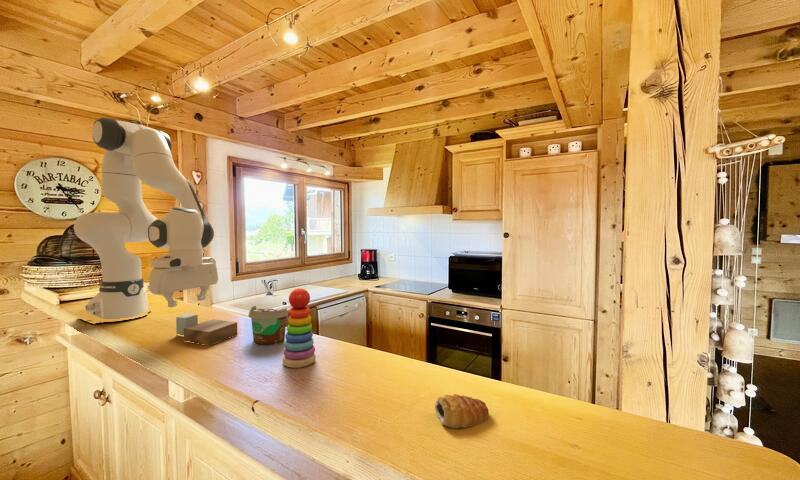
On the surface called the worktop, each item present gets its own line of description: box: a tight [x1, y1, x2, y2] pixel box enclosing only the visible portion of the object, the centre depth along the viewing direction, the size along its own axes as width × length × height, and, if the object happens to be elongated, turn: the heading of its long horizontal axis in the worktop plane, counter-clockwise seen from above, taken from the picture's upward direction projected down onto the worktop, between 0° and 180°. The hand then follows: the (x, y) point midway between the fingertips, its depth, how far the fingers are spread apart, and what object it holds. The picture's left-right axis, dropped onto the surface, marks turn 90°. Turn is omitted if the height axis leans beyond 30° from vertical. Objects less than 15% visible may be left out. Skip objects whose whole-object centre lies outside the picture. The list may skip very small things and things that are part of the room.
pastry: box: [434, 393, 490, 430], centre depth 57 cm, size 9×7×4 cm
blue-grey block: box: [175, 313, 199, 335], centre depth 100 cm, size 4×4×6 cm
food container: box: [248, 305, 289, 347], centre depth 93 cm, size 12×6×10 cm, turn 73°
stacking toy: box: [282, 287, 317, 369], centre depth 80 cm, size 8×8×19 cm
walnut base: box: [183, 318, 238, 347], centre depth 97 cm, size 10×10×4 cm
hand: (187, 303), depth 100 cm, fingers open, 8 cm apart
